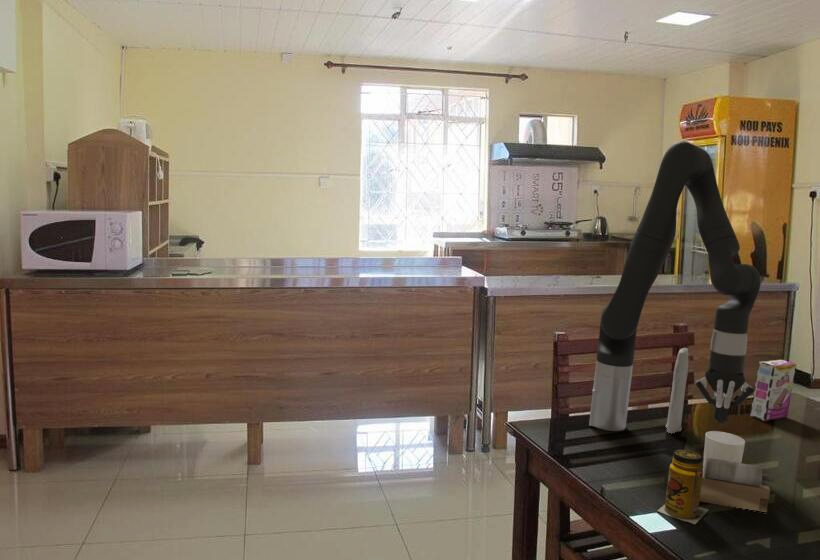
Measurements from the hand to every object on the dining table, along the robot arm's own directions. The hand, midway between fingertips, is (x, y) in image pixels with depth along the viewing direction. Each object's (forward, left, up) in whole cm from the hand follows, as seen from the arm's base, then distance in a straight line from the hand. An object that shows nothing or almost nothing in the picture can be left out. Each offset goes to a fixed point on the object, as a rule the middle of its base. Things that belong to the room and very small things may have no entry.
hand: (719, 422), depth 161 cm
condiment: (-10, -32, -10) cm, 35 cm away
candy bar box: (+20, +44, -10) cm, 50 cm away
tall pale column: (-8, +19, -10) cm, 23 cm away
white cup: (-1, -13, -10) cm, 16 cm away
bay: (-1, -17, -10) cm, 19 cm away
